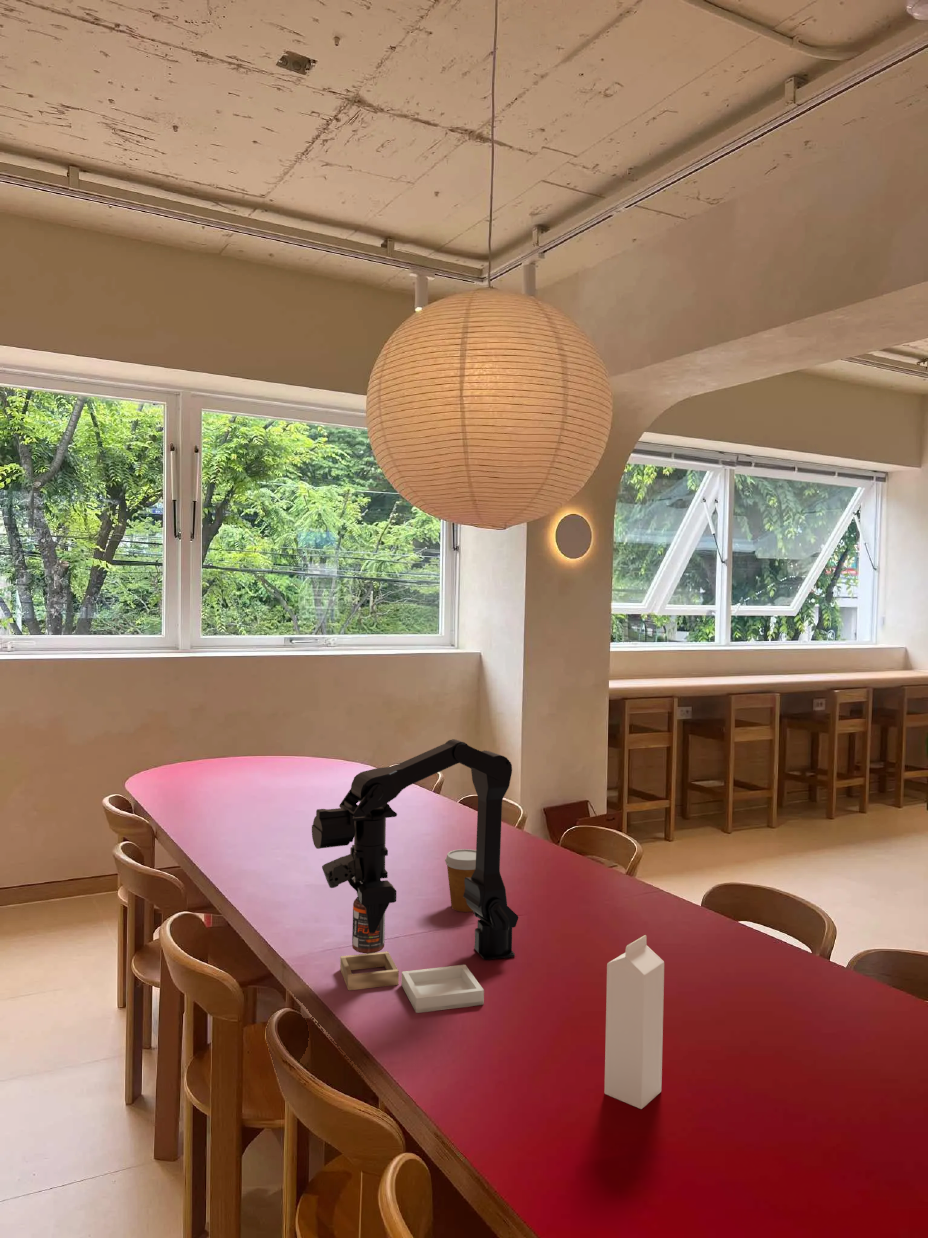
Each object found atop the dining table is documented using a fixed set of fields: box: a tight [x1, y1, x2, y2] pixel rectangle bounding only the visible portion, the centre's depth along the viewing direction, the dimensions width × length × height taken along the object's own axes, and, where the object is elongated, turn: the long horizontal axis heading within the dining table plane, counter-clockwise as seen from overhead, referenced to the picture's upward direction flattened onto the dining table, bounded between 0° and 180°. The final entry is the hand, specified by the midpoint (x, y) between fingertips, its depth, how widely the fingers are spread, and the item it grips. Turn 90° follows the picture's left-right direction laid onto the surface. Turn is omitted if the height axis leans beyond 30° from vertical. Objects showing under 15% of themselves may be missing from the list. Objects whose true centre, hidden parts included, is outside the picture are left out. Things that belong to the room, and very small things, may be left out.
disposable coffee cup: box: [444, 848, 476, 913], centre depth 201 cm, size 10×10×12 cm
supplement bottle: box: [351, 897, 386, 954], centre depth 164 cm, size 6×6×11 cm
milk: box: [604, 934, 665, 1110], centre depth 127 cm, size 6×6×22 cm
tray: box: [401, 964, 485, 1014], centre depth 157 cm, size 12×11×2 cm
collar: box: [339, 951, 400, 991], centre depth 164 cm, size 9×9×2 cm
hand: (368, 926), depth 164 cm, fingers closed on supplement bottle, 6 cm apart
